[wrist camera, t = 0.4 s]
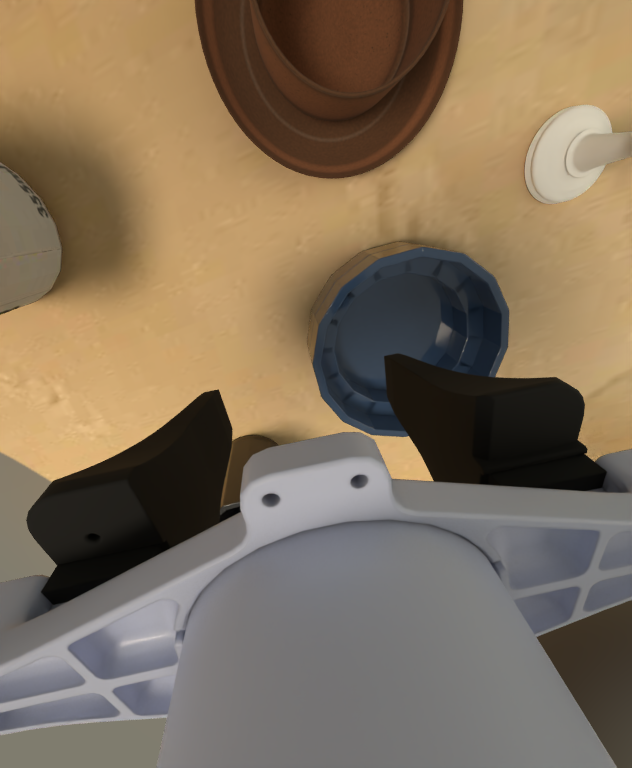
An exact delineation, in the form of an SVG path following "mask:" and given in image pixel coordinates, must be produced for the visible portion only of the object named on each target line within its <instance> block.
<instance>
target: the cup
mask: <svg viewBox="0 0 632 768" xmlns="http://www.w3.org/2000/svg"><path fill="white" fill-rule="evenodd" d="M274 446H279V445H278V444H277V443H275V442H274V441H272V440H271V439H269V438H266V437H263V436H257V435H250V436H244V437H241V438H238V439H236V440H234V441H232V448H231V453H230V458H229V463H228V467H227V472H226V477H225V481H224V486H223V491H222V497H221V507H220V519H219V523H220V522H222V521H224V520H226V519H228V518H230V517H232V516H234V515H236V514H238V513H240V512H241V510H240V491H241V483H242V475H243V467H244V466H245V464H246V463H247V462H248V460H249V459H250V458H251V456H252V455H253V454H256V453H258V452H260V451H262V450H265V449H267V448H269V447H274Z"/></svg>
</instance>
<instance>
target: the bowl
mask: <svg viewBox="0 0 632 768" xmlns="http://www.w3.org/2000/svg"><path fill="white" fill-rule="evenodd" d="M508 333H509V308H508V306H507V304H506V302H505V299H504V297H503V295H502V292H501V290H500V288H499V285H498V283H497V281H496V279H495V277H494V276H493V275H492V274H491V273H489V272H488V271H487V270H486V269H484V268H483V267H482V266H480V265H479V264H478V263H476V262H475V261H474V260H473V259H471V258H470V257H469V256H467V255H466V254H464V253H461V252H456V251H451V250H446V249H441V248H436V247H431V246H425V245H419V244H413V243H407V242H401V241H399V242H394V243H390V244H387V245H383V246H380V247H376V248H372V249H369V250H365V251H362V252H360V253H359V254H358V255H356V256H355V257H354V258H353V259H351V260H350V261H349V262H348V263H346V264H345V265H344V266H342V267H341V268H340V269H339V270H337V271H336V272H335V273H333V274H332V275H331V276H330V278H329V279H328V281H327V283H326V285H325V286H324V288H323V290H322V291H321V293H320V295H319V296H318V298H317V300H316V302H315V303H314V305H313V307H312V309H311V316H310V323H309V330H308V337H307V345H308V349H309V353H310V357H311V361H312V365H313V368H314V372H315V376H316V379H317V383H318V386H319V390H320V394H321V397H322V398H323V400H324V401H325V402H326V403H327V404H328V405H329V406H330V408H331V409H332V410H333V411H334V412H335V413H336V414H337V416H338V417H339V418H340V419H341V420H342V421H343V422H345V423H347V424H349V425H351V426H353V427H355V428H358V429H360V430H362V431H364V432H366V433H369V434H371V435H380V436H396V437H407V436H409V435H408V434H407V432H406V431H405V429H404V428H403V426H402V425H401V423H400V421H399V420H398V418H397V417H396V415H395V414H394V411H393V409H392V407H391V405H390V402H389V400H388V398H387V389H386V376H385V364H384V356H387V355H392V354H397V353H399V354H403V355H406V356H409V357H412V358H415V359H417V360H420V361H423V362H426V363H428V364H431V365H435V366H438V367H441V368H445V369H448V370H452V371H456V372H461V373H466V374H471V375H478V376H487V377H495V376H496V374H497V371H498V369H499V367H500V364H501V362H502V360H503V357H504V355H505V353H506V350H507V348H508Z"/></svg>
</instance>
